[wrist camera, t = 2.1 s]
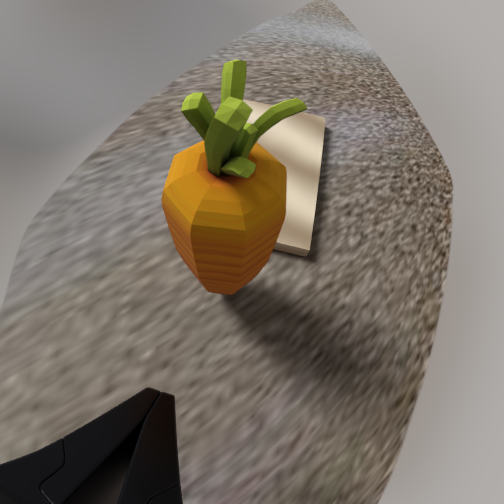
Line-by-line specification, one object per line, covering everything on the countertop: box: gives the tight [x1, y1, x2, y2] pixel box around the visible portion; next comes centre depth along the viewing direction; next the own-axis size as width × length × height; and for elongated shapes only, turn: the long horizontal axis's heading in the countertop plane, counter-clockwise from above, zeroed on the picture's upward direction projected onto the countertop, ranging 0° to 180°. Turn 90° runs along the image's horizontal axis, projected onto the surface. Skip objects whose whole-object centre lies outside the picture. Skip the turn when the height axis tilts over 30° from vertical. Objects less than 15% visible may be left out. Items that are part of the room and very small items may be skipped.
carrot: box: [162, 60, 307, 295], centre depth 14 cm, size 5×5×15 cm
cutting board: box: [243, 100, 325, 257], centre depth 26 cm, size 15×10×1 cm, turn 168°
